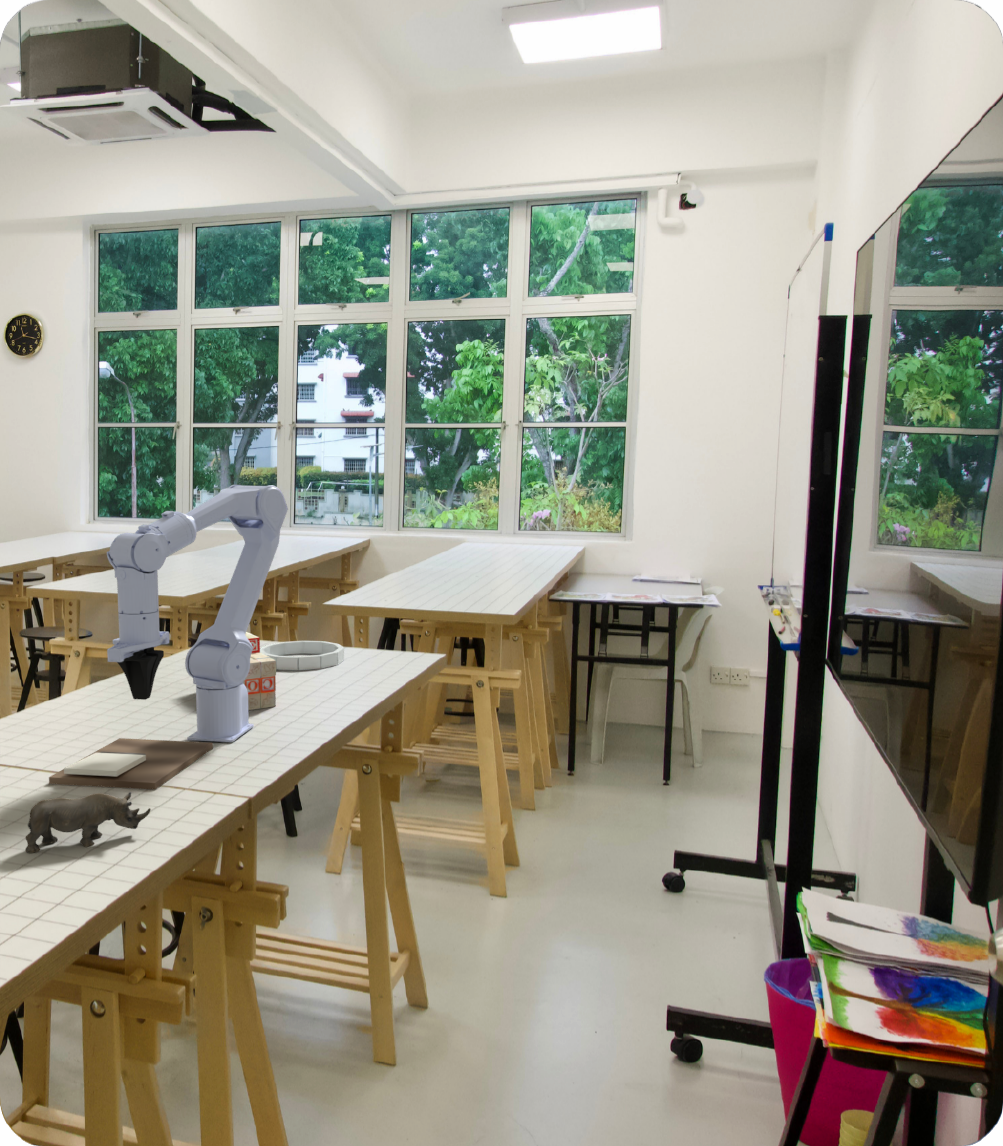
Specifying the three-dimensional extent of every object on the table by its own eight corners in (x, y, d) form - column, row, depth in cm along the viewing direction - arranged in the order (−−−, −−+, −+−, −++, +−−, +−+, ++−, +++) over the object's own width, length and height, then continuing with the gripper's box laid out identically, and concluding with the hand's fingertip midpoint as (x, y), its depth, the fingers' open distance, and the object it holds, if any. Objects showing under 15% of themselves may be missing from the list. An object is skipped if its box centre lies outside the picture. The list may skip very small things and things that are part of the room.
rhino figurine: (151, 840, 104) (149, 792, 103) (23, 857, 99) (21, 807, 98) (151, 827, 108) (150, 781, 107) (28, 842, 103) (26, 794, 102)
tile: (63, 768, 122) (64, 774, 122) (116, 770, 121) (116, 777, 121) (96, 752, 130) (96, 758, 130) (145, 755, 129) (145, 760, 129)
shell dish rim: (277, 651, 215) (276, 639, 215) (352, 654, 213) (352, 642, 213) (245, 668, 196) (245, 655, 196) (328, 671, 194) (328, 658, 194)
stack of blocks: (277, 707, 164) (276, 644, 163) (244, 711, 161) (243, 648, 159) (242, 684, 182) (241, 627, 180) (212, 688, 178) (211, 630, 177)
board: (119, 744, 140) (119, 732, 140) (212, 748, 139) (212, 736, 138) (49, 783, 122) (48, 770, 122) (155, 789, 120) (154, 776, 120)
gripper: (138, 603, 137) (141, 685, 139) (86, 618, 123) (89, 709, 125) (180, 605, 137) (182, 687, 138) (132, 619, 122) (135, 711, 124)
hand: (141, 698), depth 131 cm, fingers closed
